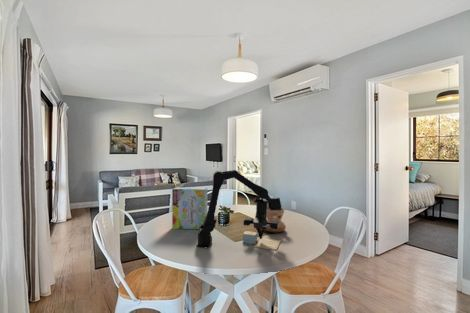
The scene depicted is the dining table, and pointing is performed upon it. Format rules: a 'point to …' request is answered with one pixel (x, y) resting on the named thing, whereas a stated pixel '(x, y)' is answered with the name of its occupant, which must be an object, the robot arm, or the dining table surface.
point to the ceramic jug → (275, 219)
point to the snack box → (188, 207)
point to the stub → (250, 237)
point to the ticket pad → (267, 243)
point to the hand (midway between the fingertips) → (260, 238)
